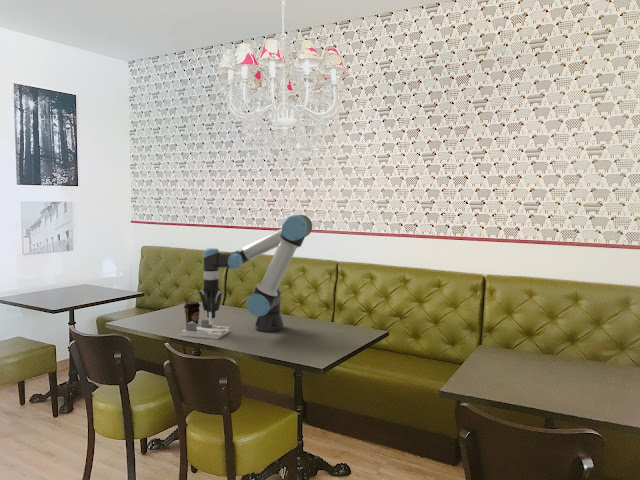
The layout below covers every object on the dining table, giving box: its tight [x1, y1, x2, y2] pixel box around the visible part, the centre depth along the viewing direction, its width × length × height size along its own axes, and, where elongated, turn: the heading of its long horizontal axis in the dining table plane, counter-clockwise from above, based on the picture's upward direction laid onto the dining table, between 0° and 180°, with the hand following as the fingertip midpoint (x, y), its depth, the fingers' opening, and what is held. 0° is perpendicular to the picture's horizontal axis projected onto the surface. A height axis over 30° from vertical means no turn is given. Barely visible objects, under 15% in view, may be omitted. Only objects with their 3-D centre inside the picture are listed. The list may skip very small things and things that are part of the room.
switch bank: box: [180, 323, 231, 340], centre depth 253 cm, size 20×14×3 cm
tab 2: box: [201, 317, 213, 328], centre depth 257 cm, size 4×3×5 cm
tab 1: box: [185, 321, 197, 332], centre depth 250 cm, size 4×3×5 cm
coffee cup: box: [183, 300, 201, 324], centre depth 266 cm, size 9×8×13 cm
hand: (211, 324), depth 256 cm, fingers closed
